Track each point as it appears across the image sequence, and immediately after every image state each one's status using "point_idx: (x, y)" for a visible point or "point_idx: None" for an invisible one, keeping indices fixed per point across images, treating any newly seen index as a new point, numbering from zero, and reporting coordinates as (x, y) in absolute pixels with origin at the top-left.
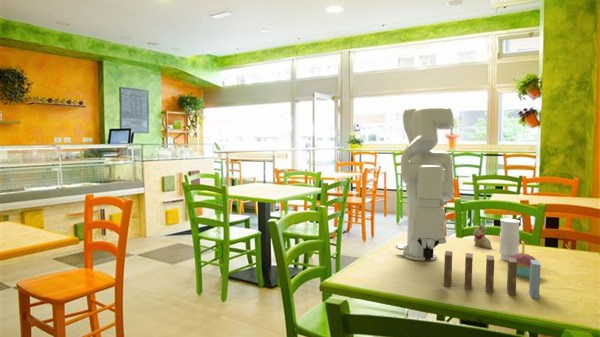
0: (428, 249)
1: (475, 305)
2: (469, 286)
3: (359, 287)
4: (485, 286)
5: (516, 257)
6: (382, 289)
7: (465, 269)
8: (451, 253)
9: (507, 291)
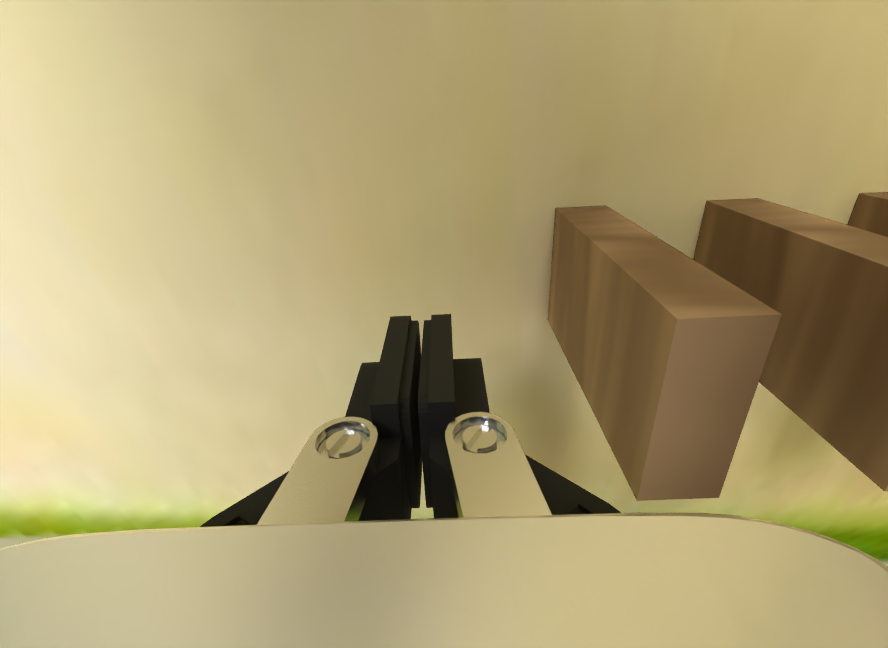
0: (430, 505)
1: (690, 503)
2: None
3: (122, 515)
4: (858, 199)
5: None
6: (234, 497)
7: (777, 395)
8: (739, 419)
9: None
